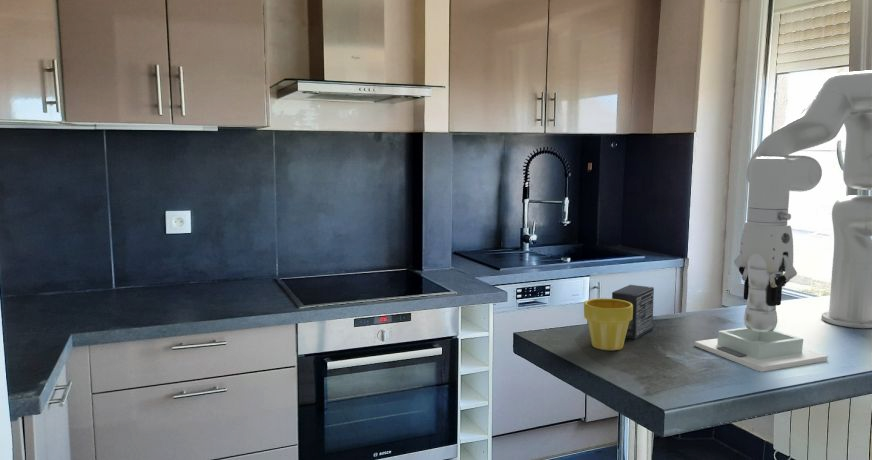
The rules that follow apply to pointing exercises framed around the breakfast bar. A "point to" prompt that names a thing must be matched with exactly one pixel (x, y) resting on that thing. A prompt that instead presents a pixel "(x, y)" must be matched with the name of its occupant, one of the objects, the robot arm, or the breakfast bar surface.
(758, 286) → the metal bottle
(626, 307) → the plant pot
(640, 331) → the small box
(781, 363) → the charging dock
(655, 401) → the breakfast bar surface
